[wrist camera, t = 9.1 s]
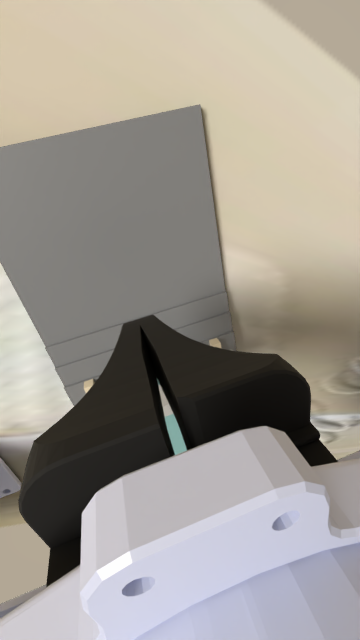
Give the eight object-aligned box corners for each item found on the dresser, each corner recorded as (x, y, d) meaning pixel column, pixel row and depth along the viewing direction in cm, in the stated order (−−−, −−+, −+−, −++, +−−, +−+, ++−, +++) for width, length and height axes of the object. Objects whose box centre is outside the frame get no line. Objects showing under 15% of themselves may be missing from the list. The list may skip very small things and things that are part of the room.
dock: (108, 459, 24) (109, 484, 22) (-52, 159, 13) (-76, 157, 11) (240, 410, 26) (251, 429, 24) (197, 105, 15) (213, 96, 13)
